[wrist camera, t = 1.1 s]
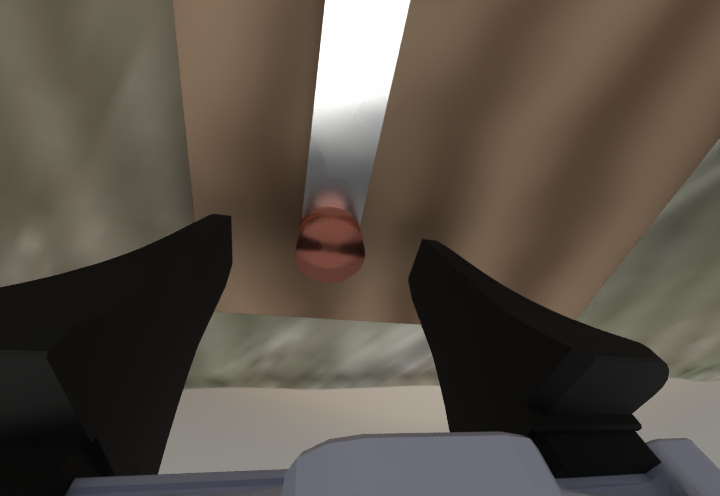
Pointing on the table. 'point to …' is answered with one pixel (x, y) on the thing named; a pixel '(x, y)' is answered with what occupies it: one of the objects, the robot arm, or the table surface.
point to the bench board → (453, 142)
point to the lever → (346, 131)
